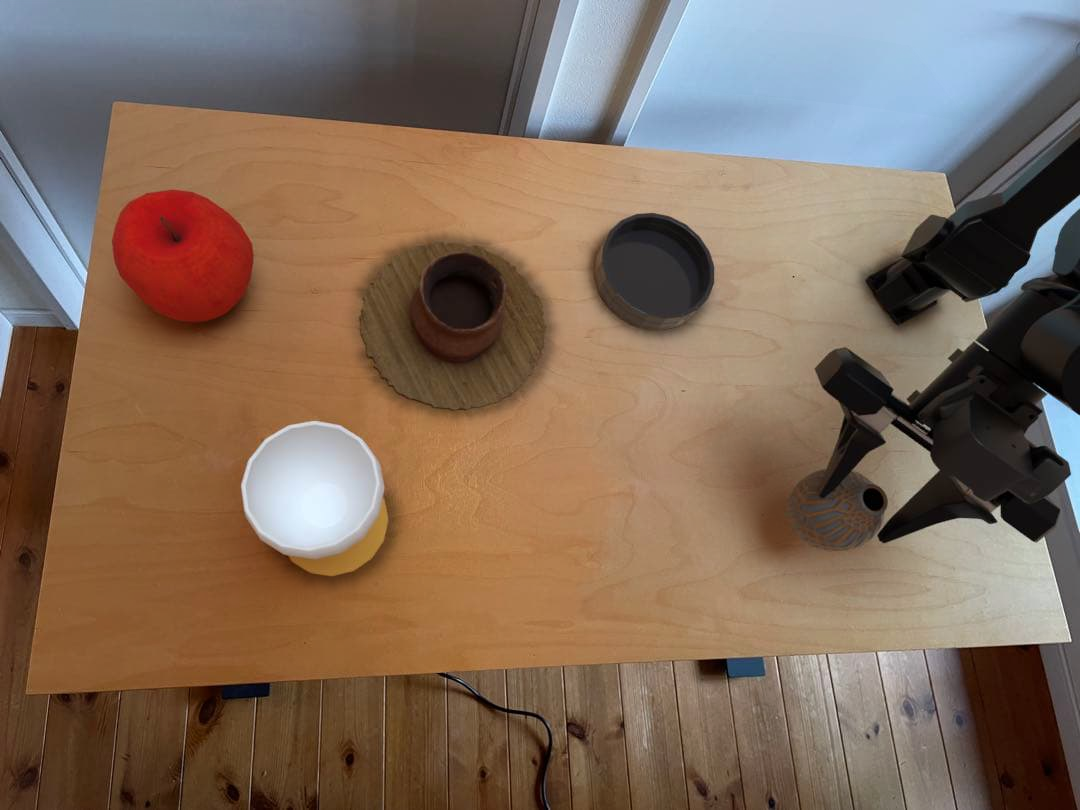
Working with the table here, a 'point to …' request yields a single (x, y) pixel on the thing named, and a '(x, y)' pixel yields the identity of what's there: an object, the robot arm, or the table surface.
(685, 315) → the pan
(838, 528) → the vase
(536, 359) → the ceramic pot
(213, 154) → the table surface
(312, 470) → the cup
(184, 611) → the table surface
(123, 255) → the apple
